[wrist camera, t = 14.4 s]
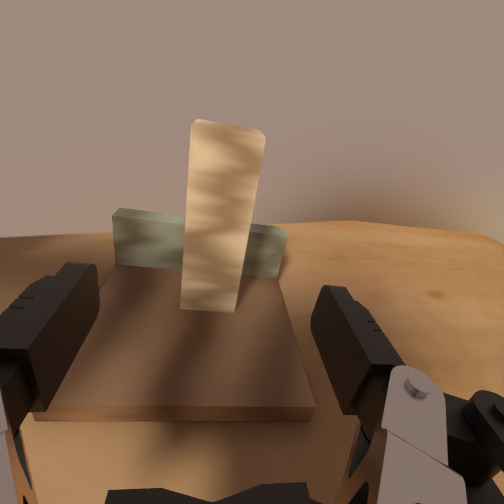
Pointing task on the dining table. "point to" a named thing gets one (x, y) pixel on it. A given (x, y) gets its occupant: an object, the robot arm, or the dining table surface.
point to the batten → (218, 212)
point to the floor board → (184, 338)
